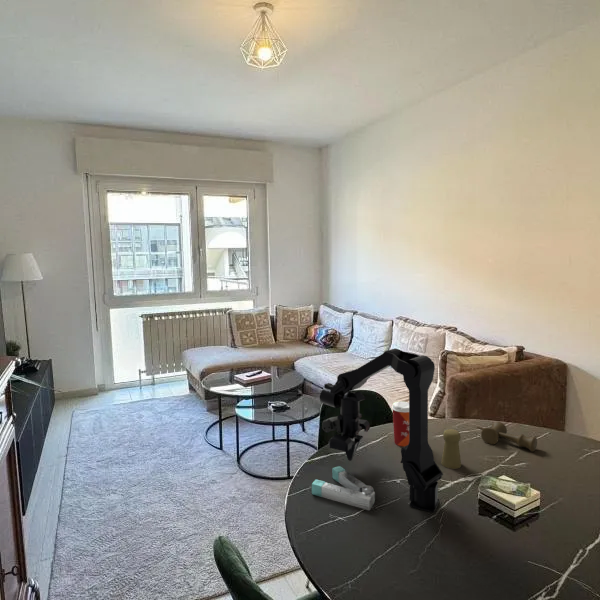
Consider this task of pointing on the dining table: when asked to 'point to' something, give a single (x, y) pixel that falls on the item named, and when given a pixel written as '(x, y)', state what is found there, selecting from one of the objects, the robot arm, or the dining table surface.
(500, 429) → the kendama
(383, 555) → the dining table surface
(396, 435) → the paper cup
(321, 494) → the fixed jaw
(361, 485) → the moving jaw
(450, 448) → the cork
